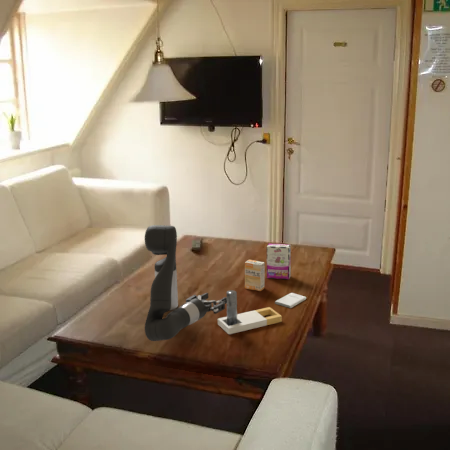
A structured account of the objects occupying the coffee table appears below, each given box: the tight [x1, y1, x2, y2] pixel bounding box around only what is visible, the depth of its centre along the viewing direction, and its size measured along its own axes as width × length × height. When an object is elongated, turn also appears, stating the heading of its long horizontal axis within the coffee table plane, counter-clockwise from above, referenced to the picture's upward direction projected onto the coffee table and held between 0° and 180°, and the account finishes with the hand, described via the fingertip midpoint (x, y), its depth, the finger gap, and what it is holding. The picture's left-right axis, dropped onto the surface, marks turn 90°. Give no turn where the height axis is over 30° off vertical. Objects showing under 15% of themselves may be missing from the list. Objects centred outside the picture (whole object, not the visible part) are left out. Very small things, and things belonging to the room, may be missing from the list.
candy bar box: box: [266, 243, 292, 280], centre depth 280 cm, size 11×5×16 cm, turn 76°
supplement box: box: [244, 259, 266, 292], centre depth 268 cm, size 8×5×13 cm, turn 62°
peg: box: [226, 289, 238, 326], centre depth 229 cm, size 4×4×15 cm
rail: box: [217, 306, 283, 335], centre depth 235 cm, size 24×10×2 cm, turn 116°
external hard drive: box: [274, 292, 307, 309], centre depth 255 cm, size 2×8×12 cm
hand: (216, 297), depth 219 cm, fingers open, 8 cm apart
